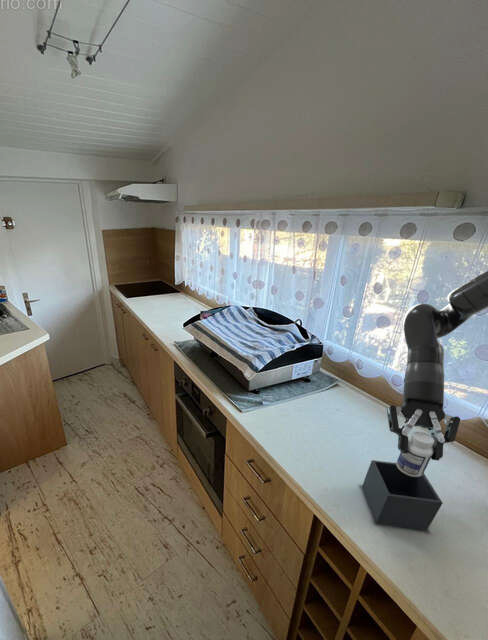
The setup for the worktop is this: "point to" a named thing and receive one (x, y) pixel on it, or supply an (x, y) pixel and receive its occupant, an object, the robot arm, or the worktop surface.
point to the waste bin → (400, 497)
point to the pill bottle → (416, 455)
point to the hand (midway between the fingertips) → (419, 456)
